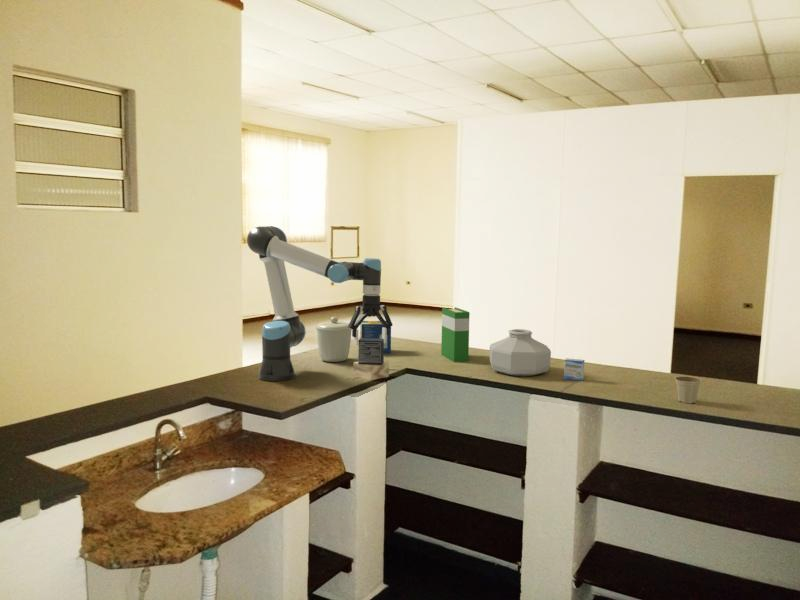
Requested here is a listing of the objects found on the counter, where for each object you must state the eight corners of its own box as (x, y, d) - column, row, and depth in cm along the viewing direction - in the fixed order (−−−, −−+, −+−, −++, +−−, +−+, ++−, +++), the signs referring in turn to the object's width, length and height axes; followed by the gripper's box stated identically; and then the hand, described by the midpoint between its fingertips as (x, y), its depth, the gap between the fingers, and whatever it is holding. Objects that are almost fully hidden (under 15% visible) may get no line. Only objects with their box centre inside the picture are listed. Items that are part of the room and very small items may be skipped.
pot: (479, 374, 288) (480, 332, 286) (498, 362, 313) (499, 324, 311) (542, 381, 276) (544, 338, 274) (556, 368, 301) (558, 328, 299)
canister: (307, 360, 313) (307, 316, 310) (334, 354, 326) (334, 313, 324) (333, 365, 301) (333, 320, 299) (360, 359, 315) (361, 316, 312)
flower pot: (679, 404, 242) (681, 382, 241) (669, 397, 252) (670, 376, 251) (704, 404, 242) (706, 382, 241) (693, 398, 252) (694, 376, 251)
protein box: (359, 350, 339) (360, 320, 337) (389, 349, 341) (389, 320, 339) (360, 354, 329) (361, 323, 327) (391, 353, 330) (391, 323, 329)
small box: (384, 361, 284) (384, 338, 283) (382, 365, 278) (382, 340, 277) (360, 361, 285) (360, 337, 284) (357, 364, 279) (358, 340, 278)
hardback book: (441, 354, 329) (442, 307, 326) (454, 354, 331) (455, 307, 328) (454, 362, 312) (455, 312, 309) (468, 361, 314) (469, 312, 312)
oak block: (370, 380, 275) (370, 367, 274) (353, 375, 283) (353, 362, 283) (388, 377, 281) (388, 363, 280) (371, 372, 290) (371, 359, 289)
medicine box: (563, 379, 280) (564, 359, 279) (565, 377, 284) (565, 357, 283) (582, 381, 277) (583, 361, 276) (583, 379, 281) (584, 359, 280)
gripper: (348, 296, 269) (347, 347, 271) (401, 294, 281) (399, 343, 284) (341, 294, 275) (340, 343, 278) (392, 292, 287) (391, 340, 290)
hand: (370, 343), depth 281 cm, fingers open, 13 cm apart
